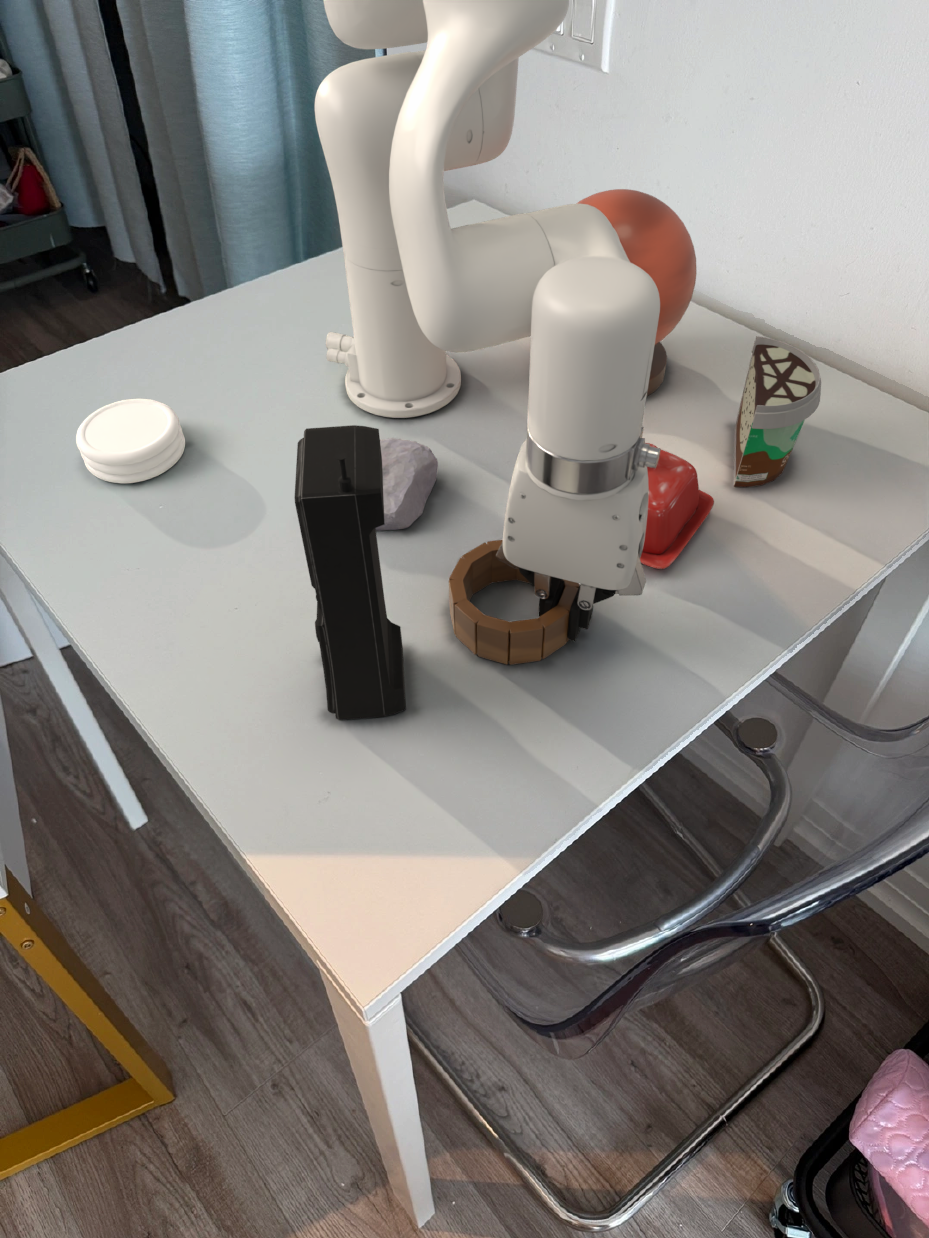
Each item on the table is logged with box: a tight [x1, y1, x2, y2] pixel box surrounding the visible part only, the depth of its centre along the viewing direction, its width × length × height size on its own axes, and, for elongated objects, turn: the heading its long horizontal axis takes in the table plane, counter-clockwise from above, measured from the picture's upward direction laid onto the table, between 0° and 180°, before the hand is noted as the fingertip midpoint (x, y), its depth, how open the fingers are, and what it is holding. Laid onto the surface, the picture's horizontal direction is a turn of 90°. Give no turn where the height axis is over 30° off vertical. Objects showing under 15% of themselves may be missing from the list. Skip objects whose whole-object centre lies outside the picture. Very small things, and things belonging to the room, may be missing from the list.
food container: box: [733, 335, 822, 488], centre depth 86 cm, size 12×6×10 cm, turn 168°
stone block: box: [376, 437, 439, 532], centre depth 86 cm, size 12×5×10 cm
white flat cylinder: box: [75, 398, 186, 484], centre depth 91 cm, size 10×10×4 cm
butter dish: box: [640, 442, 715, 570], centre depth 81 cm, size 12×12×8 cm
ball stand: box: [575, 188, 697, 397], centre depth 93 cm, size 16×16×19 cm
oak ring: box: [448, 539, 580, 666], centre depth 75 cm, size 10×10×4 cm
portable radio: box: [294, 424, 407, 721], centre depth 63 cm, size 8×6×25 cm
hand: (564, 624), depth 75 cm, fingers closed on oak ring, 1 cm apart
